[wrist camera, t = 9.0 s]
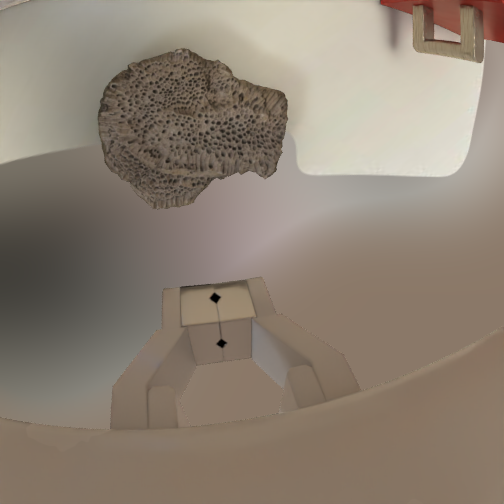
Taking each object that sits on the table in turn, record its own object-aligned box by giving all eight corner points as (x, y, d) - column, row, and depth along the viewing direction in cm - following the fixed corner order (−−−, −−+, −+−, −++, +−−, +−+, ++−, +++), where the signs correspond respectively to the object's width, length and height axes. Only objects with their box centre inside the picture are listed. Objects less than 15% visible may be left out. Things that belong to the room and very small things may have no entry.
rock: (308, 71, 20) (288, 66, 24) (96, 46, 15) (111, 47, 19) (266, 226, 28) (254, 201, 32) (93, 220, 24) (103, 194, 27)
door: (459, 70, 26) (557, 104, 13) (380, 46, 23) (503, 66, 11) (460, 29, 22) (559, 51, 10) (380, -4, 20) (500, -9, 7)
